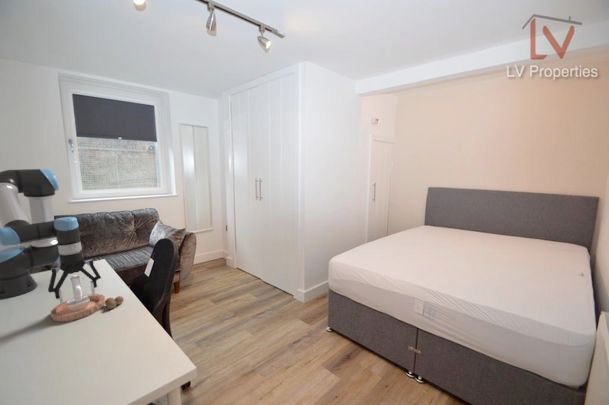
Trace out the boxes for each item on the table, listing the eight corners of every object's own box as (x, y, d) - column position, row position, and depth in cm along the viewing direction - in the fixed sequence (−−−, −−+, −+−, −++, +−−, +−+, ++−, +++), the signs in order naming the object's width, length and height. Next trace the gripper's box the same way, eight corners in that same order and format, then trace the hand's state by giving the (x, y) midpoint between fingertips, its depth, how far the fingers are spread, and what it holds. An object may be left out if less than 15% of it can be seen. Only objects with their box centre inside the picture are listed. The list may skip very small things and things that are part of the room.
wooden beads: (104, 305, 120) (103, 298, 119) (121, 299, 125) (120, 292, 124) (108, 311, 115) (107, 303, 114) (126, 304, 120) (125, 297, 119)
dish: (49, 311, 116) (48, 305, 115) (100, 295, 129) (100, 290, 129) (54, 328, 103) (52, 321, 103) (110, 308, 117) (109, 302, 117)
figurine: (69, 315, 110) (64, 283, 108) (67, 307, 117) (63, 276, 115) (91, 309, 116) (87, 277, 113) (88, 301, 122) (84, 271, 120)
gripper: (33, 262, 102) (43, 313, 105) (104, 247, 118) (111, 292, 122) (32, 257, 106) (42, 307, 110) (101, 244, 123) (107, 287, 127)
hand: (78, 299), depth 116 cm, fingers open, 10 cm apart
